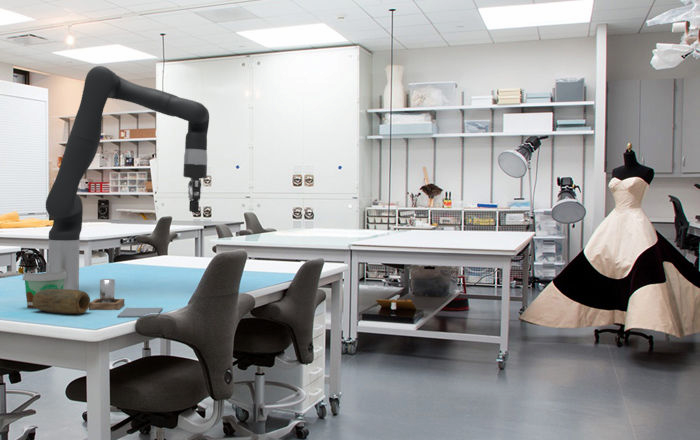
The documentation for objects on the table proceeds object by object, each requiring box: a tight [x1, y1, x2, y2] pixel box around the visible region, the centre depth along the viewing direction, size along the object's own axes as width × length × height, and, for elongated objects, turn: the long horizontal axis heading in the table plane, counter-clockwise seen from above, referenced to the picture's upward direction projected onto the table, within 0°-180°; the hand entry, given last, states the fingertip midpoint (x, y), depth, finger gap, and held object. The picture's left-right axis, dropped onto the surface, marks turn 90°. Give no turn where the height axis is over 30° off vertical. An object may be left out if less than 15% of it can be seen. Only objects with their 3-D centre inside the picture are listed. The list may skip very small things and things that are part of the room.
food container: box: [22, 269, 67, 309], centre depth 175 cm, size 12×6×10 cm, turn 148°
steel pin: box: [99, 278, 116, 303], centre depth 177 cm, size 4×4×8 cm
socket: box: [88, 298, 125, 311], centre depth 177 cm, size 8×8×2 cm
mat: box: [116, 307, 163, 318], centre depth 170 cm, size 10×12×1 cm
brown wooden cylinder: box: [33, 289, 91, 315], centre depth 167 cm, size 15×7×7 cm, turn 79°
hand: (193, 212), depth 204 cm, fingers open, 8 cm apart
